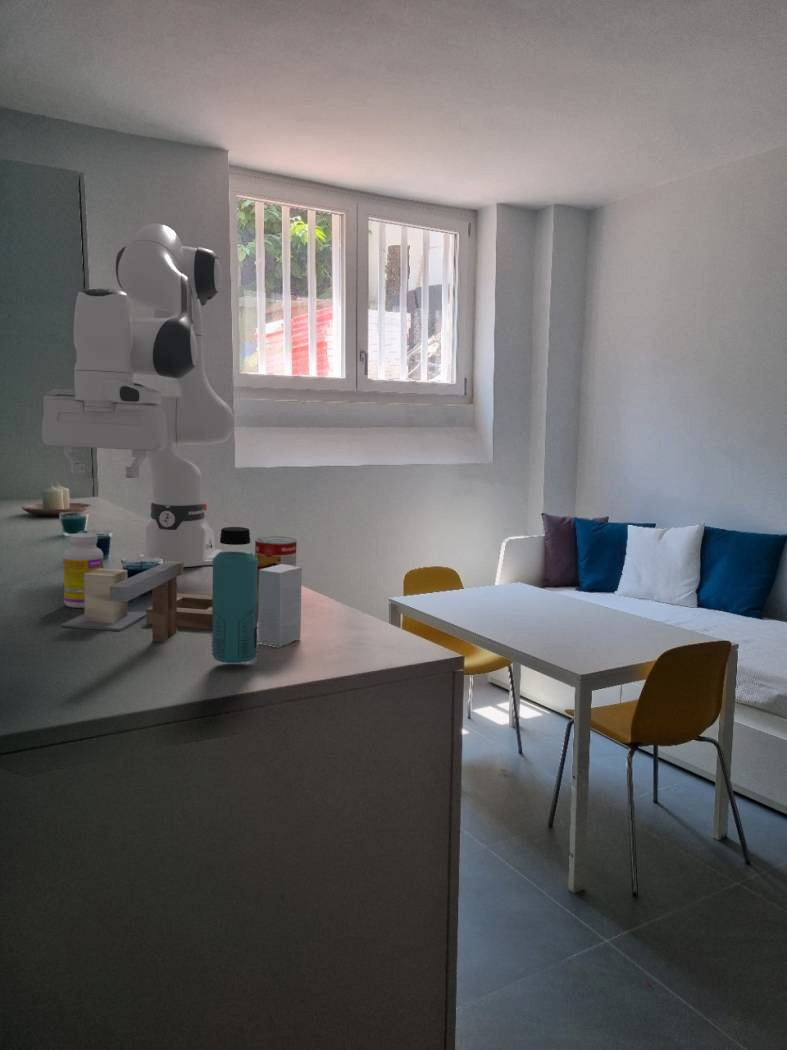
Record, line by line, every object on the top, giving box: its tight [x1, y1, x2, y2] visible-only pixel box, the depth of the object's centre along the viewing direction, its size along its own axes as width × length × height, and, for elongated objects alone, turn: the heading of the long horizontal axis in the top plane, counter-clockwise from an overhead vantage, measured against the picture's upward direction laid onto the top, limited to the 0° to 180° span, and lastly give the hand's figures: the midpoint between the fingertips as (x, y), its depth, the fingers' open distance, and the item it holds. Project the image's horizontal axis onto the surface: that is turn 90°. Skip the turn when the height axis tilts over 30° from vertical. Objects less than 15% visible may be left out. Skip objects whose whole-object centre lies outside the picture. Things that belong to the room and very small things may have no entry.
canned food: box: [254, 536, 298, 604], centre depth 143 cm, size 8×8×12 cm
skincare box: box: [257, 564, 302, 648], centre depth 117 cm, size 6×4×12 cm
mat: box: [62, 611, 146, 632], centre depth 125 cm, size 10×10×1 cm
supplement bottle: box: [63, 532, 104, 609], centre depth 134 cm, size 7×7×13 cm
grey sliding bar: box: [109, 561, 184, 602], centre depth 110 cm, size 19×3×2 cm, turn 173°
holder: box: [145, 576, 213, 643], centre depth 125 cm, size 21×12×9 cm, turn 173°
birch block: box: [84, 567, 129, 623], centre depth 124 cm, size 5×5×8 cm
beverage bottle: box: [210, 526, 259, 664], centre depth 104 cm, size 6×7×20 cm
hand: (105, 476), depth 122 cm, fingers open, 8 cm apart
